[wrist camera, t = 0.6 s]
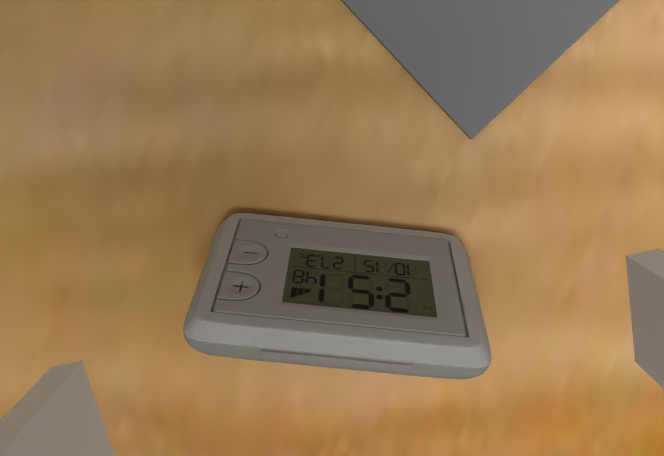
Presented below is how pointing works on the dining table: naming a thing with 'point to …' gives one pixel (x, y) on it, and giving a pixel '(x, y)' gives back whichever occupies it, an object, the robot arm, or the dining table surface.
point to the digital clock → (339, 298)
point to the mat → (477, 46)
